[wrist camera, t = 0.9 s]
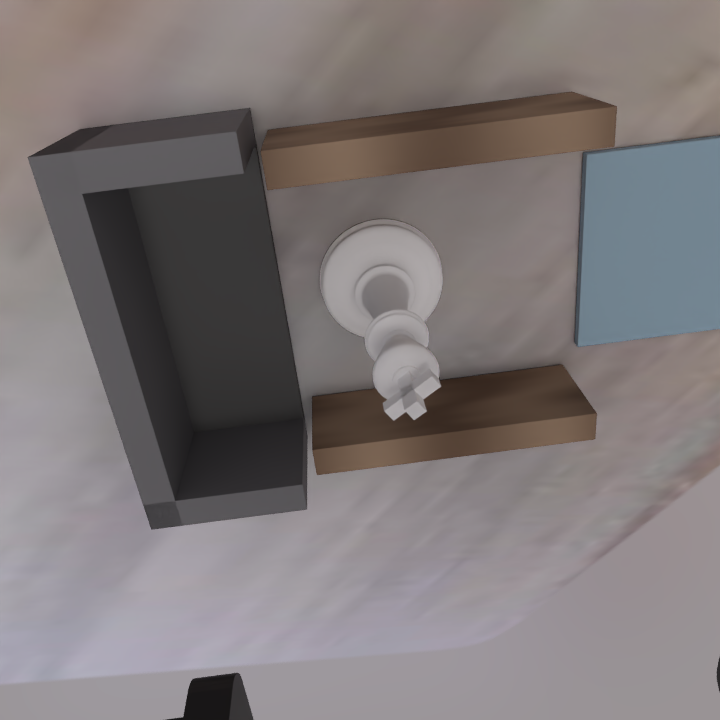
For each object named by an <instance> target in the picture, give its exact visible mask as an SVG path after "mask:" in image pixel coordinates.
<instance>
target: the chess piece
mask: <svg viewBox="0 0 720 720" xmlns="http://www.w3.org/2000/svg"><path fill="white" fill-rule="evenodd" d="M442 285H443V275H442V266H441V261H440V258H439V255H438V253H437V251H436V249H435V247H434V245H433V244H432V243H431V241H430V240H429V239H428V238H427V237H426V236H425V235H424V234H423V233H422V232H421V231H419V230H418V229H416V228H415V227H413V226H411V225H409V224H406V223H404V222H400V221H396V220H390V219H377V220H370V221H366V222H363V223H360V224H357V225H355V226H353V227H351V228H350V229H348V230H346V231H345V232H344V233H342V234H341V235H340V236H339V237H338V238H337V239H336V240H335V241H334V242H333V243H332V245H331V246H330V247H329V249H328V251H327V252H326V254H325V257H324V259H323V262H322V265H321V269H320V289H321V294H322V297H323V300H324V302H325V304H326V307H327V309H328V311H329V312H330V314H331V315H332V317H333V318H334V319H335V320H336V321H337V322H338V323H339V324H340V325H341V326H342V327H343V328H345V329H346V330H348V331H349V332H351V333H353V334H355V335H358V336H361V337H364V338H365V347H366V350H367V352H368V354H369V356H370V357H371V358H372V359H373V360H374V361H375V363H374V367H373V372H372V377H373V383H374V386H375V388H376V389H377V391H378V392H379V393H380V394H381V395H382V396H383V397H384V398H386V399H387V400H386V401H385V402H383V408H384V411H385V413H386V414H387V415H388V416H389V417H390V418H391V419H392V420H393V421H394V420H396V419H397V418H398V417H400V416H401V415H402V414H404V413H405V412H407V413H408V414H409V415H410V417H411V418H412V419H413V420H415V419H417V418H418V417H420V416H421V415H422V414H424V413H425V412H427V410H426V407H425V403H424V400H423V399H425V398H426V397H427V396H429V395H430V394H432V393H433V392H434V391H436V390H437V389H438V388H440V387H441V384H440V381H439V374H440V370H439V364H438V361H437V359H436V357H435V356H434V355H433V353H432V352H431V351H430V350H429V349H427V347H428V344H429V331H428V328H427V325H426V324H425V321H426V320H427V319H428V318H429V316H430V315H431V314H432V312H433V311H434V309H435V307H436V306H437V304H438V301H439V299H440V296H441V292H442Z"/></svg>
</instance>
